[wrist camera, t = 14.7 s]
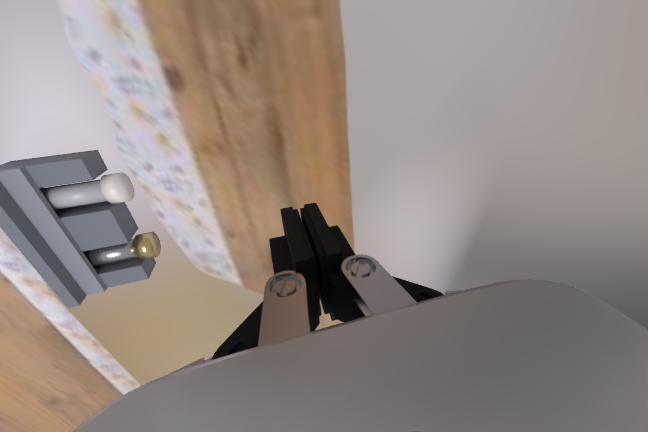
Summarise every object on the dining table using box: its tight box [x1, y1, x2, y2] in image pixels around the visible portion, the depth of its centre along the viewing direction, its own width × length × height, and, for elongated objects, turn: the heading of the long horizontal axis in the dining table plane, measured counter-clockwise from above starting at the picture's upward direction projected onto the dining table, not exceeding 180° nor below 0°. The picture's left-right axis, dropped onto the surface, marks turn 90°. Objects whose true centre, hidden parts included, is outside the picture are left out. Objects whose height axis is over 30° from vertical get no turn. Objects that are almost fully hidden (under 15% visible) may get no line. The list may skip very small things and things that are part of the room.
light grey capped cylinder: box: [40, 173, 134, 210], centre depth 36 cm, size 4×10×4 cm, turn 95°
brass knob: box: [83, 232, 161, 266], centre depth 41 cm, size 4×10×4 cm, turn 95°
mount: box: [0, 150, 156, 308], centre depth 37 cm, size 20×10×7 cm, turn 5°
